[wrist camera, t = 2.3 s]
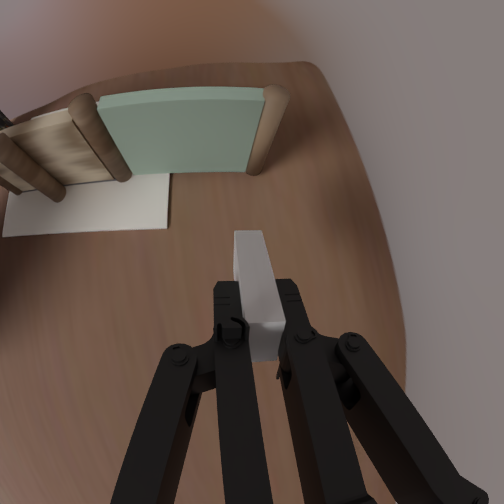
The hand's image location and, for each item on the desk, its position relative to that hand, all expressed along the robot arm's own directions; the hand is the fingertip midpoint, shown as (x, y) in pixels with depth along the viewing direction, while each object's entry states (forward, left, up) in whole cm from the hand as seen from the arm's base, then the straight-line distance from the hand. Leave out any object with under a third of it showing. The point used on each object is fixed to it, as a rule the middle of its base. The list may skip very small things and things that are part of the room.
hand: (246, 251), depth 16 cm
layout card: (-17, +12, -10) cm, 24 cm away
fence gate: (-3, +10, -9) cm, 14 cm away
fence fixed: (-19, +9, -10) cm, 23 cm away
